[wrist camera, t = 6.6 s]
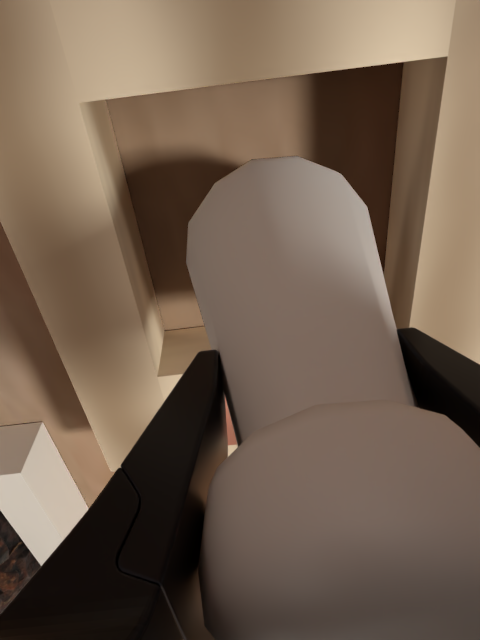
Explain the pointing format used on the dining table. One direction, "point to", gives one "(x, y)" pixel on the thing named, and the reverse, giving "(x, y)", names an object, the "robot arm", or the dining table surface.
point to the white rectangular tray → (37, 489)
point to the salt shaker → (323, 429)
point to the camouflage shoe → (13, 563)
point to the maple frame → (203, 71)
